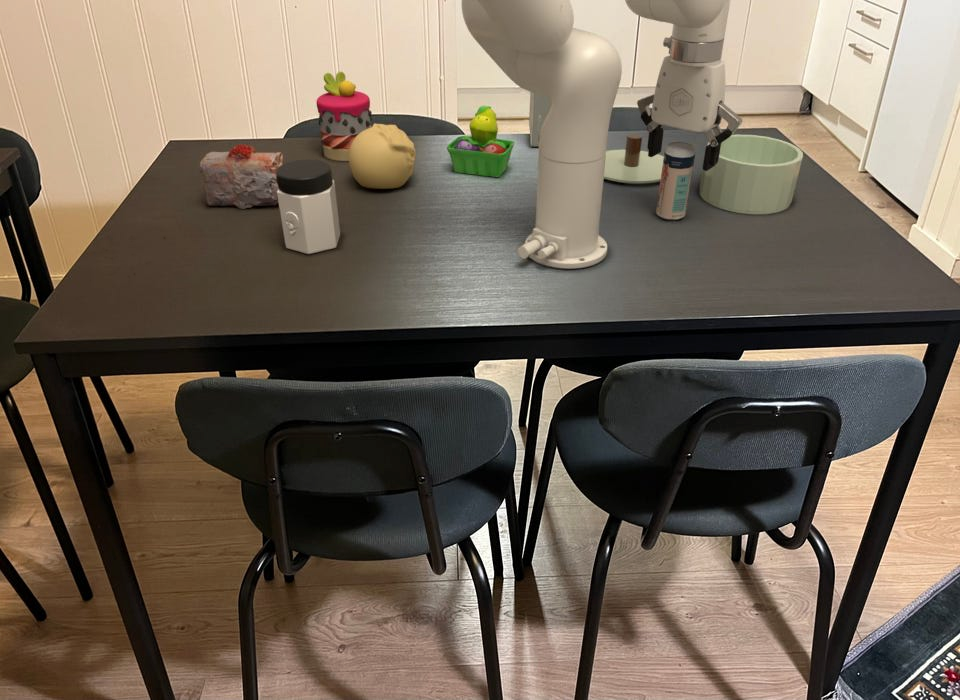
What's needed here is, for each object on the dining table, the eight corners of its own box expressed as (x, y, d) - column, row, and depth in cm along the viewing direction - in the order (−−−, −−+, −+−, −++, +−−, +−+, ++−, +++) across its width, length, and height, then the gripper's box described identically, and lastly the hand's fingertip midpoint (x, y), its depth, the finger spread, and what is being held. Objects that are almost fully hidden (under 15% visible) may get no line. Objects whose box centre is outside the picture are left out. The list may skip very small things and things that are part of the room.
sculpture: (425, 190, 136) (422, 131, 130) (360, 200, 132) (354, 139, 126) (406, 168, 145) (403, 112, 139) (345, 177, 141) (339, 119, 135)
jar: (274, 246, 117) (261, 172, 111) (308, 226, 123) (298, 155, 117) (319, 259, 114) (308, 183, 107) (352, 238, 120) (344, 165, 113)
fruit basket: (445, 173, 143) (444, 113, 136) (461, 158, 149) (460, 100, 143) (503, 181, 139) (504, 120, 133) (516, 165, 146) (518, 106, 140)
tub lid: (647, 194, 134) (651, 158, 131) (569, 172, 143) (571, 137, 140) (691, 168, 145) (696, 134, 141) (616, 149, 154) (619, 116, 150)
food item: (293, 192, 135) (284, 138, 130) (284, 210, 129) (275, 154, 123) (216, 193, 135) (205, 139, 129) (203, 211, 128) (191, 155, 123)
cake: (385, 149, 154) (379, 73, 145) (351, 165, 146) (343, 86, 138) (345, 140, 158) (338, 66, 150) (311, 155, 151) (300, 78, 143)
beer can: (664, 207, 129) (674, 138, 123) (689, 215, 127) (701, 145, 120) (650, 216, 126) (660, 146, 120) (676, 224, 124) (687, 153, 117)
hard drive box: (568, 148, 154) (574, 45, 143) (530, 148, 154) (534, 45, 143) (562, 124, 167) (568, 28, 156) (528, 124, 167) (531, 28, 156)
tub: (769, 222, 124) (781, 173, 120) (683, 198, 133) (691, 151, 128) (804, 194, 134) (816, 147, 130) (722, 173, 143) (731, 128, 138)
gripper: (632, 47, 114) (622, 156, 124) (740, 64, 105) (720, 181, 115) (656, 37, 119) (645, 143, 129) (762, 53, 110) (742, 166, 119)
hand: (681, 161), depth 122 cm, fingers open, 9 cm apart
